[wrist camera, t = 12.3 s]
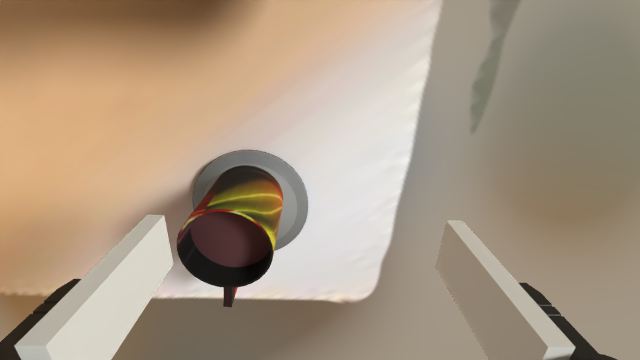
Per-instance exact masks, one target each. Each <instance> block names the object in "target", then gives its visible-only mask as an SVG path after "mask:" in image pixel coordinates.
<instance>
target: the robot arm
mask: <svg viewBox="0 0 640 360" xmlns="http://www.w3.org/2000/svg"><path fill="white" fill-rule="evenodd" d="M172 265H173V259H172V254H171V248H170V243H169V238H168V233H167V227H166V222H165V217H164V215H146V216H145V217H144V218H143V219H142V220H141V221H140V222H139V223H138V224H137V225H136V226H135V227H134V228H133V229H132V230H131V231H130V232H129V233H128V234H127V235H126V236H125V237H124V238H123V239H122V240H121V241H120V242H119V243H118V244H117V245H116V246H115V247H114V248H113V249H112V250H111V251H110V252H109V253H108V254H107V255H106V256H105V257H104V258H103V259H102V260H101V261H100V262H99V263H98V264H97V265H96V266H95V267H94V268H93V269H92V270H91V271H90V272H89V273H87V274H86V275H85V276H84V277H83V278H82V279H73V280H72V281H70V282H68V283H67V284H65V285H63V286H62V287H60V288H58V289H57V290H56V291H55V292H54V293H53V294H51V295H50V296H49V297H48V298H47V299H46V300H45V301H44V303H43V304H41V305H40V306H39V307H37V309H35V310H34V311H33V314H30V315H29V316H28V317H27V318H26V319H25V320H24V321H23V322H21V323H20V324H19V325H18V326H17V327H16V328H15V329H14V330H13V331H12V332H11V333H10V334H8V336H6V337H5V338H4V339H3V340H2V341H1V342H0V360H111V359H112V357H113V356H114V354H115V353H116V351H117V350H118V348H119V347H120V345H121V344H122V342H123V341H124V339H125V337H126V336H127V334H128V333H129V331H130V330H131V328H132V327H133V325H134V324H135V322H136V321H137V319H138V318H139V316H140V314H141V313H142V311H143V310H144V308H145V307H146V305H147V304H148V302H149V301H150V299H151V298H152V296H153V295H154V293H155V291H156V290H157V288H158V287H159V285H160V284H161V282H162V281H163V279H164V278H165V276H166V275H167V273H168V272H169V270H170V268H171V267H172ZM436 269H437V271H438V272H439V274H440V276H441V278H442V279H443V281H444V283H445V284H446V286H447V288H448V289H449V291H450V293H451V295H452V297H453V298H454V300H455V302H456V303H457V305H458V307H459V309H460V310H461V312H462V314H463V316H464V317H465V319H466V321H467V323H468V324H469V326H470V328H471V329H472V331H473V333H474V335H475V336H476V338H477V340H478V342H479V343H480V345H481V347H482V349H483V350H484V352H485V354H486V356H487V357H488V359H489V360H617V359H615V358H612V357H609V356H606V355H601V354H598V353H597V351H596V350H595V349H594V348H593V347H592V346H591V345H590V344H589V343H588V342H587V341H586V340H585V339H584V338H583V337H582V336H581V335H580V334H579V333H578V332H577V331H576V330H575V328H573V326H572V325H571V324H570V323H569V322H568V321H567V320H566V319H565V318H564V317H562V316H561V314H560V313H559V312H558V311H557V309H555V307H552V305H551V303H550V302H549V301H548V300H547V299H546V298H545V297H544V296H543V295H542V294H541V293H540V292H539V291H537V290H536V289H534V288H533V287H531V286H530V285H528V284H527V283H518V282H517V281H516V280H515V279H514V278H513V277H512V276H511V274H510V273H509V272H508V271H507V270H506V269H505V268H504V267H503V265H502V264H501V263H500V262H499V261H498V260H497V259H496V258H495V257H494V255H493V254H492V253H491V252H490V251H489V250H488V249H487V248H486V247H485V245H484V244H483V243H482V242H481V241H480V240H479V239H478V238H477V236H475V234H474V233H473V232H472V231H471V230H470V229H469V228H468V226H467V225H466V224H465V223H464V222H463V221H454V220H452V221H451V220H447V221H446V225H445V229H444V234H443V238H442V242H441V246H440V250H439V255H438V259H437V263H436Z"/></svg>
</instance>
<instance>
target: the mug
mask: <svg viewBox="0 0 640 360" xmlns="http://www.w3.org/2000/svg"><path fill="white" fill-rule="evenodd" d="M282 206H283V192H282V189H281V187H280V185H279V183H278V181H277V180H276V179H275V178H274V177H273V176H272V175H271V174H270V173H269V172H267V171H265V170H263V169H261V168H258V167H256V166H250V165H240V166H236V167H233V168H230V169H228V170H226V171H225V172H224V173H222V174H221V175H220V177H219V178H218V179H217V180H216V182H215V183H214V184H213V186H212V187H211V188H210V190H209V191H208V192H207V194H206V195H205V196H204V198H203V199H202V200H201V202H200V203H199V204H198V206H197V207H196V209H195V210H194V211H193V213H192V214H191V215H190V217H189V218H188V219H187V221H186V222H185V223H184V225H183V226H182V228H181V230H180V232H179V234H178V238H177V251H178V255H179V258H180V260H181V262H182V264H183V265H184V266H185V267H186V269H187V270H188V271H189V272H190V273H191V274H192V275H194V276H195V277H196V278H198V279H200V280H201V281H203V282H206V283H208V284H210V285H214V286H218V287H224V306H226V307H232V303H233V300H234V297H235V294H236V291H237V288H238V287H241V286H246V285H248V284H251V283H253V282H255V281H257V280H258V279H260V278H261V277H262V276H263V275H264V274H265V273H266V272H267V270H268V269H269V267H270V265H271V262H272V259H273V254H274V248H275V243H276V238H277V232H278V227H279V222H280V217H281V211H282Z"/></svg>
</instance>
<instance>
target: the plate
mask: <svg viewBox="0 0 640 360" xmlns="http://www.w3.org/2000/svg"><path fill="white" fill-rule="evenodd" d="M240 165H250V166H256V167H258V168H261V169H263V170H265V171H267V172H269V173H270V174H271V175H272V176H273V177H274V178H275V179H276V180H277V181H278V183H279V185H280V187H281V189H282V192H283V206H282V211H281V217H280V222H279V227H278V232H277V238H276V243H275V248H274V251H275V250H278V249H280V248H282V247H284V246H286V245H287V244H289V243H290V242H291V241H292V240H293V239H295V238H296V237H297V235H298V234H299V233H300V231H301V230H302V228H303V226H304V224H305V221H306V218H307V213H308V197H307V192H306V189H305V186H304V183H303V182H302V180H301V178H300V177H299V175H298V174H297V172H296V171H295V170H294V169H293V168H292V167H291V166H290V165H289V164H287V163H286V162H285V161H283V160H282V159H280V158H278V157H276V156H274V155H272V154H269V153H266V152H262V151H257V150H239V151H233V152H230V153H227V154H225V155H222V156H220V157H219V158H217V159H215V160H214V161H213V162H212V163H210V164H209V165H208V166H207V167H206V168H205V170H204V171H203V172H202V173H201V174H200V176H199V178H198V179H197V182H196V184H195V187H194V191H193V208H194V210H195V209H196V207H197V206H198V204H199V203H200V202H201V200H202V199H203V198H204V196H205V195H206V194H207V192H208V191H209V190H210V188H211V187H212V186H213V184H214V183H215V182H216V180H217V179H218V178H219V177H220V175H221V174H222V173H224V172H225V171H226V170H228V169H230V168H233V167H236V166H240Z"/></svg>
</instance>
